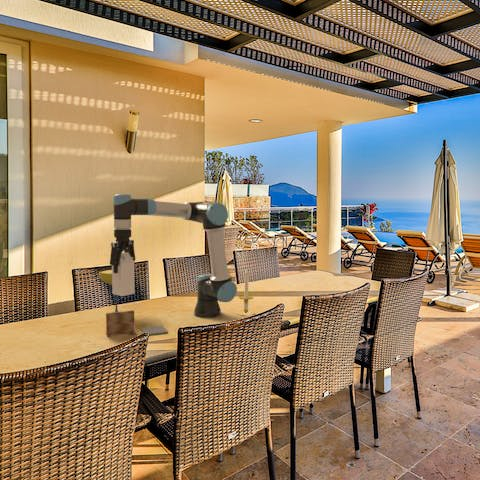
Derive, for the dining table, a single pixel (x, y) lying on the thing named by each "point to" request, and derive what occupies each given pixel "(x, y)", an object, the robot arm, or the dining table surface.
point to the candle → (246, 293)
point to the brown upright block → (120, 323)
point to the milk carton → (124, 277)
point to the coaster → (154, 330)
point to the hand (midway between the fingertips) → (123, 278)
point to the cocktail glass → (107, 279)
